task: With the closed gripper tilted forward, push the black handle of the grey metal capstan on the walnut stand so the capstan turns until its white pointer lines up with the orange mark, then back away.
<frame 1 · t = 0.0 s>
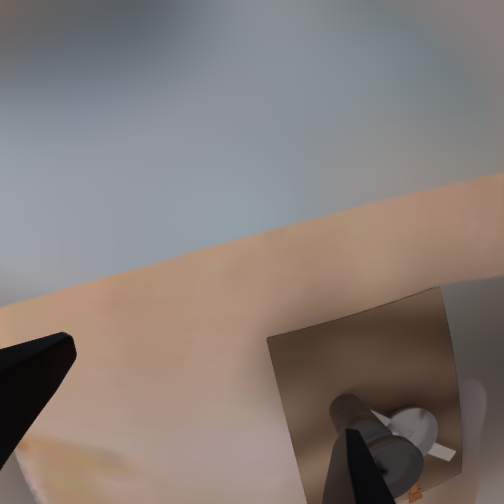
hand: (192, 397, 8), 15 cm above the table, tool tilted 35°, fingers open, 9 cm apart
stand: (377, 418, 20), on the table
capstan: (421, 457, 13), point 7 cm above the table, hinge at 0.0°
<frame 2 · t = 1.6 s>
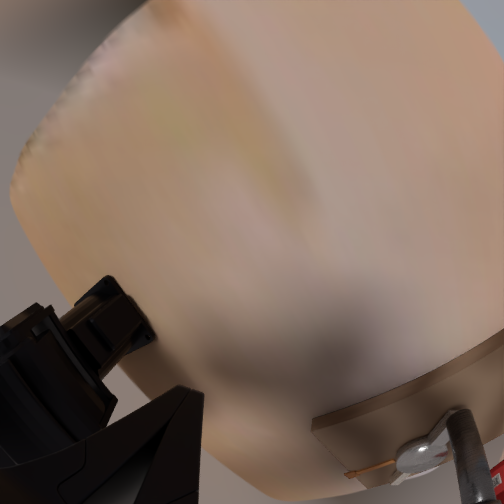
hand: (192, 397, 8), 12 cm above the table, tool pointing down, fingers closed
stand: (430, 423, 21), on the table
capstan: (433, 492, 15), point 7 cm above the table, hinge at 0.0°
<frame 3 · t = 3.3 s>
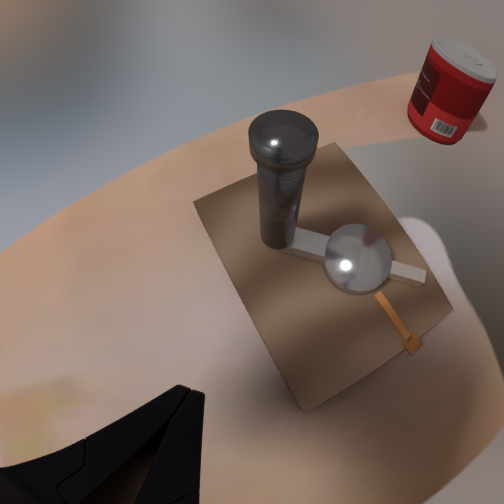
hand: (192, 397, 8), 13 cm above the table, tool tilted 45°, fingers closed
canned food: (433, 124, 30), on the table
stand: (323, 262, 24), on the table
capstan: (362, 222, 17), point 7 cm above the table, hinge at 0.0°
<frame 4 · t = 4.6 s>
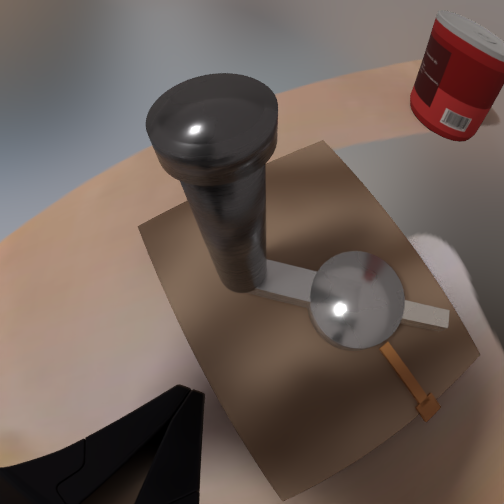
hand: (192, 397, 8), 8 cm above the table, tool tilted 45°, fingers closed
canned food: (441, 118, 24), on the table
stand: (310, 302, 17), on the table
capstan: (365, 257, 10), point 7 cm above the table, hinge at 0.0°
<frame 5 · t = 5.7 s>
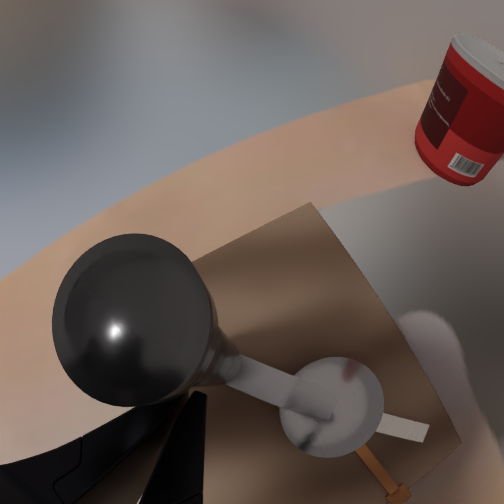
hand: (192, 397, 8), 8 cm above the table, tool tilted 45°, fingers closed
canned food: (448, 156, 22), on the table
stand: (286, 395, 15), on the table
capstan: (333, 409, 9), point 7 cm above the table, hinge at -7.8°, touching gripper
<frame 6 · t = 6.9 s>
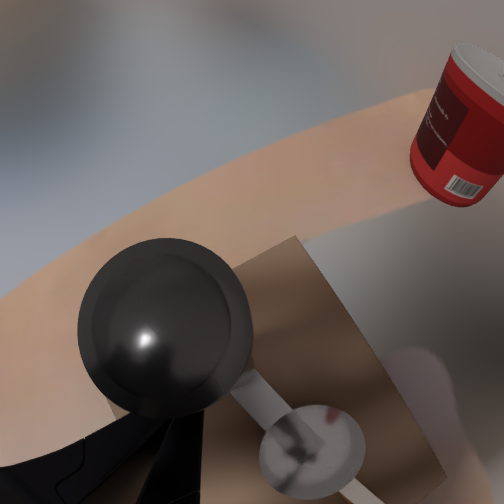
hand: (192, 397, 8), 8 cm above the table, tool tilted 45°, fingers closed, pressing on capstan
canned food: (445, 174, 22), on the table
stand: (268, 434, 14), on the table
capstan: (313, 463, 8), point 7 cm above the table, hinge at -33.7°, touching gripper
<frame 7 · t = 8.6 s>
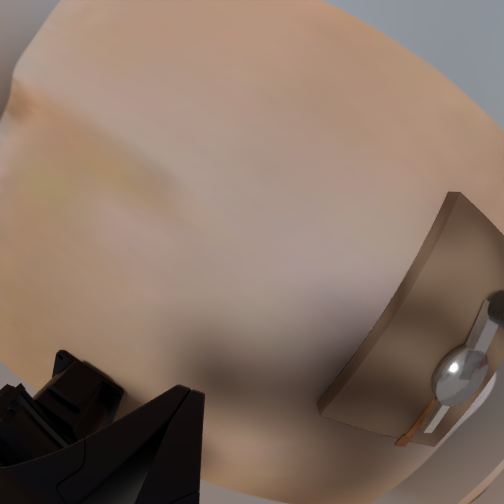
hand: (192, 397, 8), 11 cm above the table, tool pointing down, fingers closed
stand: (447, 340, 20), on the table
capstan: (501, 397, 13), point 7 cm above the table, hinge at -33.7°
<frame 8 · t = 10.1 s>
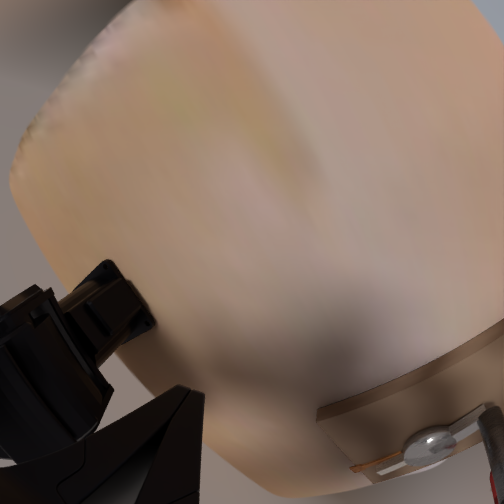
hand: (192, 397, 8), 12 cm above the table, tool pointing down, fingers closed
stand: (438, 414, 20), on the table
capstan: (448, 485, 14), point 7 cm above the table, hinge at -33.7°
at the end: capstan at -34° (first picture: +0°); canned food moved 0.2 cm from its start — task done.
